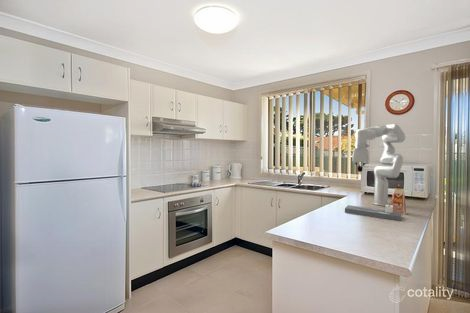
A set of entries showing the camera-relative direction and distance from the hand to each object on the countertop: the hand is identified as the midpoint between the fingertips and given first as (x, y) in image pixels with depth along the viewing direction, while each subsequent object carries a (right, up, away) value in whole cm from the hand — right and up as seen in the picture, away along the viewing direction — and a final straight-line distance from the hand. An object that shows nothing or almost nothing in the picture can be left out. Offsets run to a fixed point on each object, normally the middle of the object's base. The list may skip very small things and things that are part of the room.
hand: (359, 171), depth 183 cm
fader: (+9, -25, -20) cm, 33 cm away
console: (+1, -28, -15) cm, 31 cm away
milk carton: (+23, -28, -7) cm, 37 cm away
